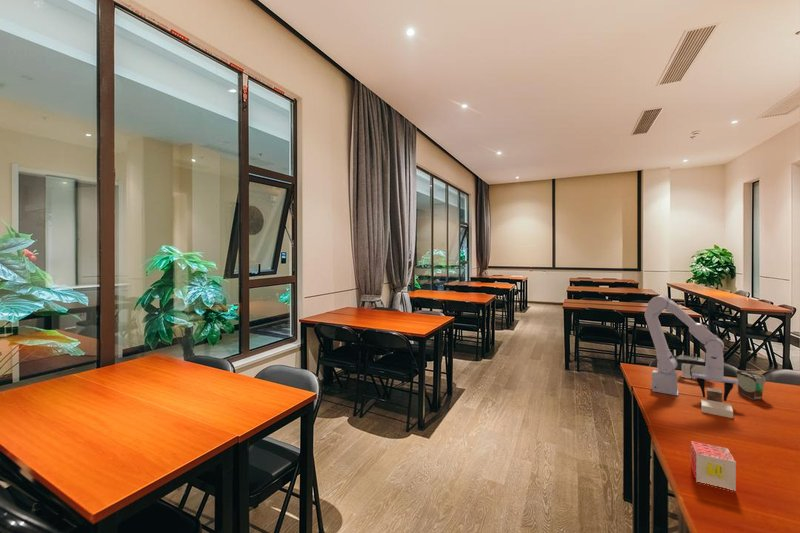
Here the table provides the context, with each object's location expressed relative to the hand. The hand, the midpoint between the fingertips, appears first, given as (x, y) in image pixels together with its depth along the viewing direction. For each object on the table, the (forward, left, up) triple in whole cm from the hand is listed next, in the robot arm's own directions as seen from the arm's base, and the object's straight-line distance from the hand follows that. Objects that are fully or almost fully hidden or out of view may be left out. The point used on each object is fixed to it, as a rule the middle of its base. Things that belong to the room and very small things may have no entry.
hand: (714, 398), depth 149 cm
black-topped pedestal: (-6, +34, -2) cm, 35 cm away
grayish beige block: (0, 0, -2) cm, 2 cm away
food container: (+14, +18, -2) cm, 23 cm away
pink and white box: (-4, -71, -2) cm, 71 cm away
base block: (0, -12, -2) cm, 12 cm away
